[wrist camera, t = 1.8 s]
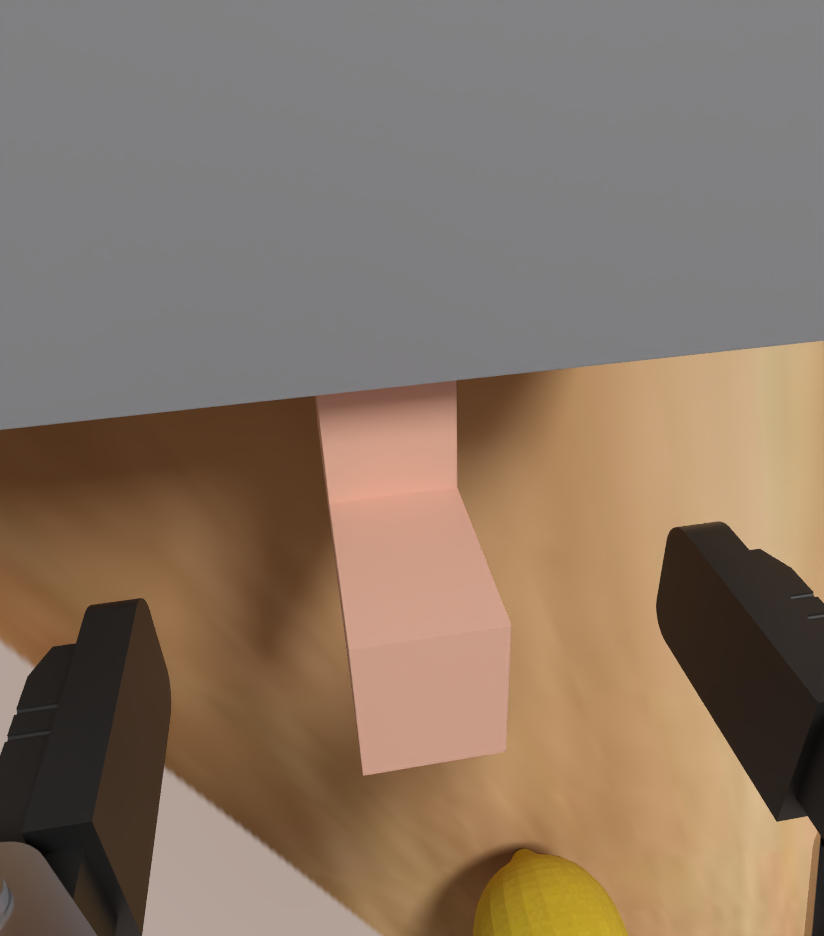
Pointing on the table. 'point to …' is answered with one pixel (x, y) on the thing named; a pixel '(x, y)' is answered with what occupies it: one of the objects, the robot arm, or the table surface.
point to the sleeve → (396, 193)
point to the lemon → (545, 900)
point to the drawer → (412, 580)
